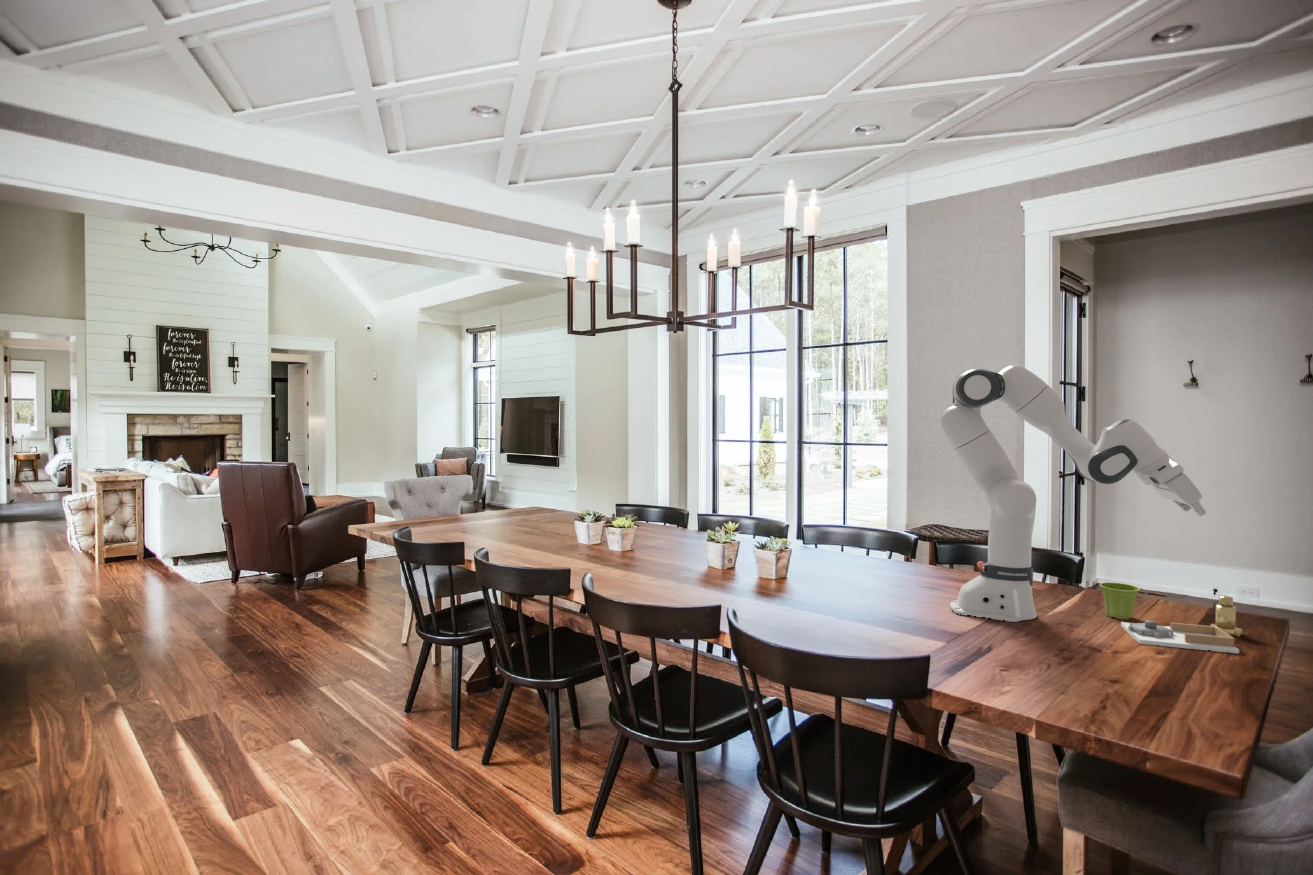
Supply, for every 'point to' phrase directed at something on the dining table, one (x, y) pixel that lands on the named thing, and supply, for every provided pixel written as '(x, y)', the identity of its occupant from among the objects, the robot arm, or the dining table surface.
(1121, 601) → the plant pot
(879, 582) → the dining table surface
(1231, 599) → the brass gear shaft
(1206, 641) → the gear board
